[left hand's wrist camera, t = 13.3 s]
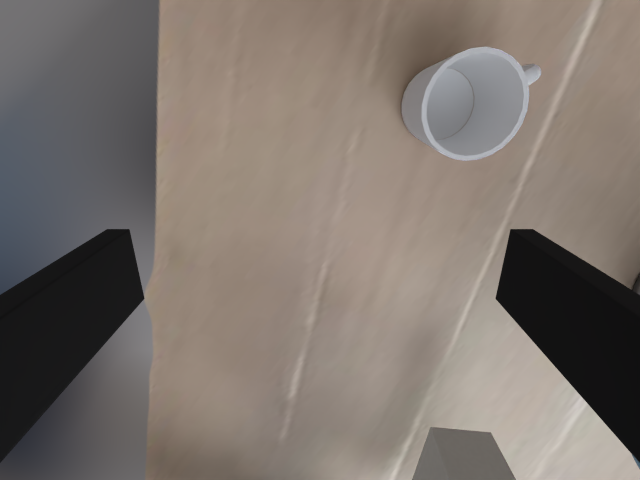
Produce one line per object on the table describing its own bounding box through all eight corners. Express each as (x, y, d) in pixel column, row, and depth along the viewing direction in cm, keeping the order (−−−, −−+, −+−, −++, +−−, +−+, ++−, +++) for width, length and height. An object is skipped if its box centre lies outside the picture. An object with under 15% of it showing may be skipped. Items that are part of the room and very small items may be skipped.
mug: (414, 159, 41) (442, 178, 32) (383, 86, 38) (404, 82, 29) (505, 113, 39) (565, 118, 30) (481, 32, 36) (538, 9, 27)
